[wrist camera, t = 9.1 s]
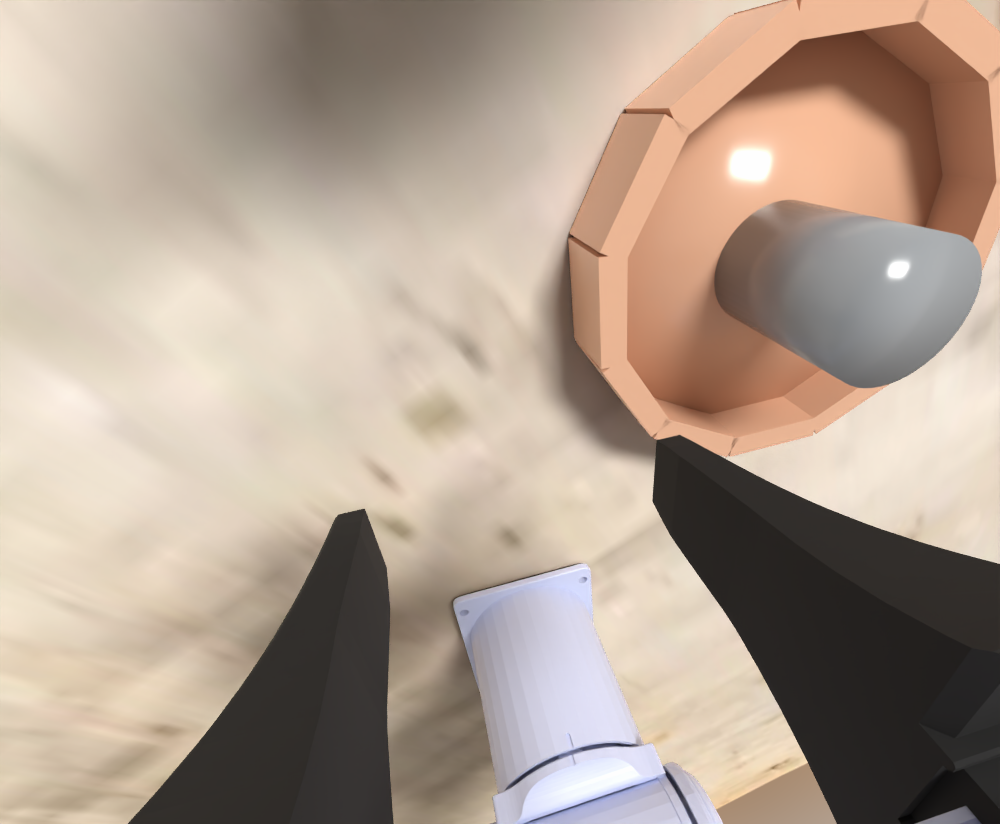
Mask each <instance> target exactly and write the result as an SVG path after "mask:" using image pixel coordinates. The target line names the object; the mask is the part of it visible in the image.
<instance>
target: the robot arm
mask: <svg viewBox="0 0 1000 824" xmlns="http://www.w3.org/2000/svg"><path fill="white" fill-rule="evenodd" d="M653 503H654V505H655V507H656V509H657V511H658V513H659V515H660V517H661V519H662V521H663V523H664V524H665V526H666V528H667V530H668V532H669V533H670V535H671V537H672V538H673V540H674V541H675V543H676V544H677V546H678V547H679V548H680V550H681V551H682V553H683V554H684V556H685V557H686V558H687V560H688V561H689V563H690V564H691V566H692V567H693V568H694V570H695V571H696V573H697V574H698V575H699V577H700V578H701V580H702V581H703V582H704V584H705V585H706V587H707V588H708V589H709V591H710V592H711V594H712V595H713V596H714V598H715V599H716V601H717V602H718V603H719V605H720V606H721V608H722V609H723V610H724V612H725V613H726V615H727V616H728V618H729V619H730V621H731V622H732V624H733V626H734V627H735V629H736V630H737V632H738V634H739V635H740V637H741V639H742V641H743V642H744V644H745V646H746V648H747V649H748V651H749V653H750V654H751V656H752V658H753V660H754V661H755V663H756V665H757V667H758V668H759V670H760V672H761V674H762V676H763V678H764V679H765V681H766V683H767V685H768V687H769V689H770V690H771V692H772V694H773V696H774V698H775V700H776V701H777V703H778V705H779V707H780V709H781V711H782V713H783V715H784V716H785V718H786V720H787V722H788V724H789V726H790V728H791V730H792V732H793V734H794V736H795V738H796V740H797V742H798V744H799V746H800V748H801V750H802V752H803V754H804V755H805V757H806V759H807V761H808V764H809V766H810V768H811V770H812V772H813V774H814V776H815V778H816V780H817V782H818V784H819V786H820V789H821V791H822V793H823V795H824V797H825V799H826V801H827V803H828V805H829V807H830V810H831V812H832V814H833V816H834V818H835V820H836V822H837V824H1000V564H997V563H993V562H990V561H986V560H982V559H978V558H975V557H971V556H967V555H963V554H960V553H956V552H952V551H949V550H945V549H942V548H938V547H935V546H932V545H928V544H925V543H922V542H918V541H915V540H912V539H909V538H906V537H903V536H900V535H897V534H894V533H891V532H888V531H885V530H882V529H879V528H876V527H873V526H871V525H868V524H865V523H862V522H860V521H857V520H855V519H852V518H850V517H847V516H844V515H842V514H839V513H837V512H834V511H832V510H829V509H827V508H824V507H822V506H820V505H817V504H815V503H813V502H810V501H808V500H806V499H804V498H802V497H800V496H798V495H795V494H793V493H791V492H789V491H787V490H785V489H782V488H780V487H778V486H776V485H774V484H772V483H770V482H768V481H766V480H764V479H762V478H760V477H758V476H756V475H754V474H753V473H751V472H749V471H747V470H745V469H743V468H741V467H739V466H737V465H736V464H734V463H732V462H730V461H728V460H726V459H724V458H723V457H721V456H719V455H717V454H715V453H713V452H712V451H710V450H708V449H706V448H704V447H702V446H701V445H699V444H697V443H695V442H693V441H691V440H689V439H687V438H685V437H683V436H681V435H677V436H672V437H668V438H664V439H660V440H657V444H656V458H655V473H654V487H653ZM453 607H454V611H455V615H456V618H457V621H458V624H459V628H460V631H461V634H462V637H463V641H464V644H465V647H466V650H467V653H468V657H469V660H470V663H471V666H472V670H473V673H474V676H475V679H476V683H477V686H478V689H479V690H480V695H481V700H482V706H483V712H484V717H485V723H486V729H487V734H488V740H489V746H490V751H491V757H492V763H493V768H494V774H495V780H496V785H497V791H498V794H496V795H494V796H493V798H492V799H493V805H494V811H495V817H496V822H494V823H491V824H723V822H722V820H721V819H720V817H719V815H718V813H717V811H716V809H715V807H714V805H713V804H712V802H711V800H710V798H709V797H708V795H707V793H706V792H705V790H704V789H703V787H702V786H701V784H700V783H699V782H698V781H697V779H696V778H695V777H694V776H692V775H691V774H690V773H688V772H686V771H685V770H683V769H682V768H681V767H680V766H679V765H678V764H676V763H674V762H670V763H667V764H665V765H662V764H661V761H660V759H659V757H658V754H657V752H656V750H655V747H654V745H653V744H652V743H648V744H645V745H644V743H643V741H642V738H641V736H640V733H639V731H638V729H637V726H636V724H635V722H634V719H633V717H632V715H631V712H630V710H629V707H628V705H627V703H626V700H625V698H624V696H623V693H622V691H621V688H620V686H619V684H618V681H617V679H616V677H615V674H614V672H613V669H612V667H611V665H610V662H609V660H608V658H607V655H606V653H605V650H604V648H603V646H602V643H601V641H600V639H599V636H598V634H597V631H596V629H595V627H594V624H593V607H592V588H591V571H590V569H589V567H588V565H587V564H583V563H582V564H577V565H574V566H570V567H566V568H563V569H559V570H555V571H552V572H548V573H544V574H541V575H537V576H533V577H530V578H526V579H522V580H519V581H515V582H511V583H508V584H504V585H500V586H497V587H493V588H489V589H486V590H482V591H478V592H475V593H471V594H467V595H464V596H460V597H458V598H456V599H455V600H454V602H453ZM389 631H390V602H389V589H388V578H387V568H386V565H385V562H384V559H383V557H382V554H381V551H380V549H379V546H378V543H377V541H376V538H375V535H374V533H373V530H372V527H371V524H370V522H369V519H368V516H367V514H366V511H365V509H361V510H357V511H352V512H348V513H344V514H340V515H338V516H337V517H336V518H335V520H334V522H333V524H332V527H331V529H330V531H329V533H328V536H327V538H326V540H325V542H324V544H323V547H322V549H321V551H320V553H319V555H318V557H317V559H316V561H315V563H314V565H313V567H312V569H311V571H310V573H309V575H308V577H307V579H306V581H305V583H304V585H303V587H302V589H301V590H300V592H299V594H298V596H297V598H296V600H295V602H294V603H293V605H292V607H291V609H290V610H289V612H288V614H287V615H286V617H285V619H284V621H283V622H282V624H281V626H280V627H279V629H278V631H277V633H276V634H275V636H274V638H273V639H272V641H271V642H270V644H269V645H268V647H267V649H266V650H265V652H264V653H263V655H262V656H261V658H260V659H259V661H258V662H257V664H256V665H255V667H254V668H253V670H252V671H251V673H250V674H249V676H248V677H247V679H246V680H245V681H244V683H243V684H242V686H241V687H240V689H239V690H238V691H237V693H236V694H235V695H234V697H233V698H232V699H231V701H230V702H229V703H228V705H227V706H226V707H225V709H224V710H223V711H222V713H221V714H220V715H219V717H218V718H217V720H216V721H215V722H214V723H213V725H212V726H211V727H210V729H209V730H208V731H207V732H206V734H205V735H204V736H203V737H202V739H201V740H200V741H199V742H198V744H197V745H196V746H195V747H194V748H193V750H192V751H191V752H190V753H189V754H188V756H187V757H186V758H185V759H184V760H183V761H182V763H181V764H180V765H179V766H178V767H177V768H176V770H175V771H174V772H173V773H172V774H171V776H170V777H169V778H168V779H167V780H166V781H165V783H164V784H163V785H162V786H161V787H160V789H159V790H158V791H157V792H156V793H155V794H154V795H153V797H152V798H151V799H150V800H149V801H148V802H147V803H146V804H145V805H144V807H143V808H142V809H141V810H140V811H139V812H138V813H137V814H136V815H135V816H134V818H133V819H132V820H131V821H130V822H129V823H128V824H393V811H392V797H391V783H390V768H389V751H388V734H387V693H388V663H389Z"/></svg>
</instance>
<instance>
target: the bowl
mask: <svg viewBox="0 0 1000 824" xmlns="http://www.w3.org/2000/svg"><path fill="white" fill-rule="evenodd" d="M625 110H626V112H627V114H621V115H620V117H619V119H618V122H617V124H616V126H615V129H614V131H613V133H612V136H611V138H610V140H609V142H608V145H607V147H606V149H605V152H604V154H603V156H602V159H601V161H600V163H599V166H598V168H597V170H596V172H595V175H594V177H593V179H592V182H591V184H590V186H589V189H588V191H587V193H586V196H585V198H584V200H583V202H582V205H581V207H580V209H579V212H578V214H577V216H576V219H575V221H574V223H573V226H572V228H571V230H570V232H569V233H570V234H571V235H573V236H574V237H572V238H568V242H569V259H570V277H571V294H572V311H573V328H574V338H575V340H576V341H575V342H576V343H577V344H578V346H579V347H580V348H581V349H582V351H583V352H584V353H585V355H586V356H587V357H588V359H589V360H590V361H591V362H592V364H593V365H594V366H595V368H596V369H597V370H598V372H599V373H600V374H601V375H602V377H603V378H604V379H605V381H606V382H607V383H608V385H609V386H610V387H611V389H612V390H613V391H614V392H615V394H616V395H617V396H618V398H619V399H620V400H621V402H622V403H623V404H624V405H625V406H626V407H627V409H628V410H629V411H630V412H631V413H632V415H633V416H634V417H635V418H636V419H637V421H638V422H639V423H640V424H641V425H642V427H643V428H644V429H645V430H646V431H647V432H648V434H649V435H650V436H651V437H653V438H654V439H658V440H660V439H664V438H668V437H672V436H677V435H681V436H683V437H685V438H687V439H689V440H691V441H693V442H695V443H697V444H699V445H701V446H702V447H704V448H706V449H708V450H710V451H712V452H713V453H715V454H718V455H722V456H726V457H727V455H729V456H734V455H738V454H742V453H746V452H750V451H754V450H758V449H762V448H765V447H769V446H773V445H777V444H781V443H785V442H789V441H793V440H797V439H800V438H804V437H808V436H812V435H813V432H815V433H816V434H817V433H818V432H819V431H821V430H822V429H824V428H825V427H827V426H828V425H830V424H831V423H833V422H834V421H836V420H837V419H839V418H840V417H842V416H843V415H845V414H846V413H848V412H849V411H850V410H852V409H853V408H855V407H856V406H858V405H859V404H861V403H862V402H864V401H865V400H867V399H868V398H870V397H871V396H873V395H874V394H876V393H877V392H879V391H880V390H881V389H883V388H884V387H886V386H887V385H884V386H881V387H875V388H857V387H853V386H850V385H848V384H846V383H844V382H843V381H841V380H839V379H837V378H836V377H834V376H832V375H831V374H829V373H827V372H825V371H824V370H822V369H820V368H818V367H817V366H815V365H813V364H812V363H810V362H808V361H806V360H805V359H803V358H801V357H800V356H798V355H796V354H794V353H793V352H791V351H789V350H787V349H786V348H784V347H782V346H781V345H779V344H777V343H775V342H774V341H772V340H770V339H769V338H767V337H765V336H763V335H762V334H760V333H758V332H757V331H755V330H753V329H751V328H750V327H748V326H746V325H744V324H743V323H741V322H739V321H738V320H736V319H734V318H732V317H731V316H729V315H728V314H727V313H725V311H724V310H723V309H722V308H721V306H720V305H719V303H718V300H717V298H716V294H715V287H714V279H715V271H716V266H717V263H718V259H719V257H720V255H721V252H722V250H723V248H724V246H725V244H726V243H727V241H728V239H729V238H730V236H731V235H732V234H733V232H734V231H735V230H736V229H737V227H738V226H739V225H740V224H741V223H742V222H743V221H744V220H745V219H747V218H748V217H749V216H750V215H751V214H753V213H754V212H756V211H757V210H759V209H761V208H762V207H764V206H766V205H769V204H771V203H774V202H777V201H781V200H798V201H803V202H808V203H812V204H817V205H822V206H826V207H831V208H836V209H840V210H845V211H850V212H854V213H859V214H864V215H869V216H873V217H878V218H883V219H887V220H892V221H897V222H901V223H906V224H911V225H915V226H920V227H925V228H929V229H934V230H939V231H943V232H948V233H953V234H957V235H961V236H963V237H965V238H967V239H969V240H970V241H971V242H972V243H973V244H974V245H975V247H976V248H977V250H978V252H979V255H980V258H981V263H982V270H983V268H984V265H985V263H986V260H987V258H988V255H989V253H990V250H991V248H992V245H993V243H994V241H995V238H996V236H997V233H998V231H999V228H1000V31H999V30H997V29H996V28H995V27H994V26H993V25H992V24H991V23H990V22H989V21H988V20H987V19H986V18H985V17H984V16H982V15H981V14H980V13H979V12H978V11H977V10H976V9H975V8H974V7H973V6H972V5H971V4H970V3H968V2H967V1H966V0H782V1H778V2H775V3H771V4H767V5H763V6H760V7H756V8H752V9H749V10H745V11H741V12H738V13H734V15H731V16H729V17H727V18H726V19H725V20H724V21H723V22H722V23H721V24H720V25H718V26H717V27H716V28H715V29H714V30H713V31H712V32H711V33H709V34H708V35H707V36H706V37H705V38H704V39H703V40H701V41H700V42H699V43H698V44H697V45H696V46H695V47H694V48H692V49H691V50H690V51H689V52H688V53H687V54H686V55H685V56H683V57H682V58H681V59H680V60H679V61H678V62H677V63H676V64H674V65H673V66H672V67H671V68H670V69H669V70H668V71H666V72H665V73H664V74H663V75H662V76H661V77H660V78H659V79H657V80H656V81H655V82H654V83H653V84H652V85H651V86H650V87H648V88H647V89H646V90H645V91H644V92H643V93H642V94H640V95H639V96H638V97H637V98H636V99H635V100H634V101H633V102H631V103H630V104H629V105H628V106H627V107H626V108H625ZM888 385H889V384H888Z"/></svg>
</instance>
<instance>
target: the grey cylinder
mask: <svg viewBox="0 0 1000 824" xmlns="http://www.w3.org/2000/svg"><path fill="white" fill-rule="evenodd" d="M981 276H982V263H981V258H980V255H979V252H978V250H977V248H976V247H975V245H974V244H973V243H972V242H971V241H970V240H969V239H967V238H965V237H963V236H961V235H957V234H953V233H948V232H943V231H939V230H934V229H929V228H925V227H920V226H915V225H911V224H906V223H901V222H897V221H892V220H887V219H883V218H878V217H873V216H869V215H864V214H859V213H854V212H850V211H845V210H840V209H836V208H831V207H826V206H822V205H817V204H812V203H808V202H803V201H798V200H781V201H777V202H774V203H771V204H769V205H766V206H764V207H762V208H761V209H759V210H757V211H756V212H754V213H753V214H751V215H750V216H749V217H748V218H747V219H745V220H744V221H743V222H742V223H741V224H740V225H739V226H738V227H737V229H736V230H735V231H734V232H733V234H732V235H731V236H730V238H729V239H728V241H727V243H726V244H725V246H724V248H723V250H722V252H721V255H720V257H719V259H718V263H717V266H716V271H715V279H714V287H715V294H716V298H717V300H718V303H719V305H720V306H721V308H722V309H723V310H724V311H725V313H727V314H728V315H729V316H731V317H732V318H734V319H736V320H738V321H739V322H741V323H743V324H744V325H746V326H748V327H750V328H751V329H753V330H755V331H757V332H758V333H760V334H762V335H763V336H765V337H767V338H769V339H770V340H772V341H774V342H775V343H777V344H779V345H781V346H782V347H784V348H786V349H787V350H789V351H791V352H793V353H794V354H796V355H798V356H800V357H801V358H803V359H805V360H806V361H808V362H810V363H812V364H813V365H815V366H817V367H818V368H820V369H822V370H824V371H825V372H827V373H829V374H831V375H832V376H834V377H836V378H837V379H839V380H841V381H843V382H844V383H846V384H848V385H850V386H853V387H857V388H875V387H881V386H884V385H888V384H891V383H893V382H895V381H898V380H900V379H902V378H904V377H906V376H908V375H909V374H911V373H913V372H914V371H916V370H917V369H919V368H920V367H922V366H923V365H924V364H926V363H927V362H928V361H929V360H930V359H932V358H933V357H934V356H935V355H936V354H937V353H938V352H939V351H940V350H941V349H942V348H943V347H944V346H945V345H946V344H947V343H948V342H949V341H950V340H951V338H952V337H953V336H954V335H955V333H956V332H957V331H958V330H959V328H960V327H961V325H962V324H963V322H964V321H965V319H966V317H967V316H968V314H969V312H970V310H971V308H972V306H973V304H974V302H975V299H976V296H977V294H978V291H979V287H980V283H981Z"/></svg>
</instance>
